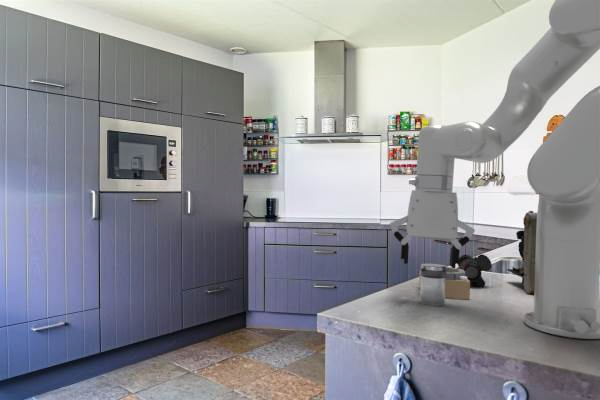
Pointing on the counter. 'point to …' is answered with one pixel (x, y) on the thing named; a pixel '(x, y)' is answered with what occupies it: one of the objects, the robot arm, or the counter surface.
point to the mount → (455, 284)
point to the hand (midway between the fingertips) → (428, 264)
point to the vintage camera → (527, 252)
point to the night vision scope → (475, 267)
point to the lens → (432, 284)
